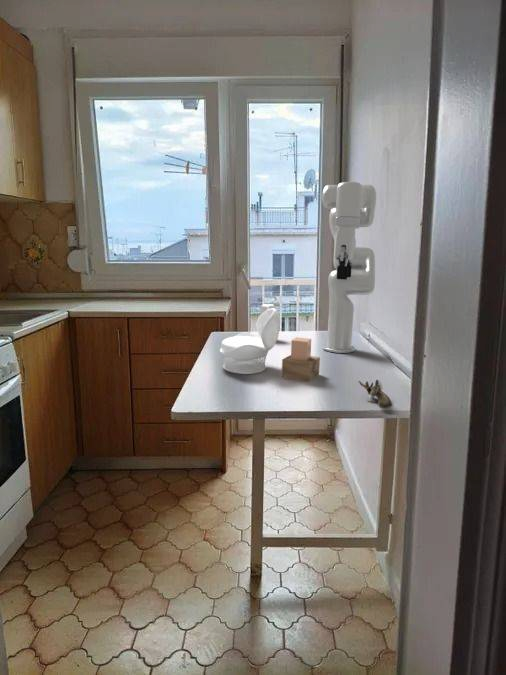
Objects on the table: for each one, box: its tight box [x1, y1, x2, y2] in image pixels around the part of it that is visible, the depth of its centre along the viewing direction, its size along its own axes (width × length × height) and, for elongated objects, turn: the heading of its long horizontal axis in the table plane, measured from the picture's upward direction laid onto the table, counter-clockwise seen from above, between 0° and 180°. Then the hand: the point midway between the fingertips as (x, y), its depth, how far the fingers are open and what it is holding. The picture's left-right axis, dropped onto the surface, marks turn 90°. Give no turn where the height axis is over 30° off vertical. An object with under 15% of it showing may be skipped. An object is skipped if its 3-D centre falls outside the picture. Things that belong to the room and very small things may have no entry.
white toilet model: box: [219, 308, 281, 375], centre depth 147 cm, size 20×20×20 cm
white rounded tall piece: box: [259, 303, 277, 339], centre depth 192 cm, size 7×7×15 cm
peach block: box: [290, 337, 312, 361], centre depth 139 cm, size 5×5×6 cm
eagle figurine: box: [358, 379, 392, 409], centre depth 119 cm, size 8×7×9 cm
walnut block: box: [281, 354, 321, 383], centre depth 141 cm, size 9×9×6 cm
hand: (343, 278), depth 144 cm, fingers open, 9 cm apart
